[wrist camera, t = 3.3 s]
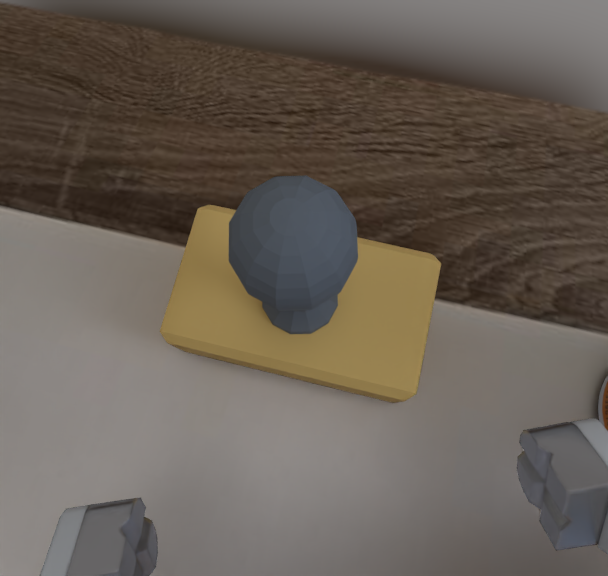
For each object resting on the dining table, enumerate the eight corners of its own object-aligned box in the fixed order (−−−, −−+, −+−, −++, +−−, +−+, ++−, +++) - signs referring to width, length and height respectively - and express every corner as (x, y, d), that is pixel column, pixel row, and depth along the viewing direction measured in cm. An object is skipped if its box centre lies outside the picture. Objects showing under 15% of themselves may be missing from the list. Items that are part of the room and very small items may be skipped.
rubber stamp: (180, 350, 23) (40, 285, 11) (215, 231, 24) (124, 62, 13) (399, 404, 22) (492, 394, 11) (424, 278, 24) (531, 145, 12)
